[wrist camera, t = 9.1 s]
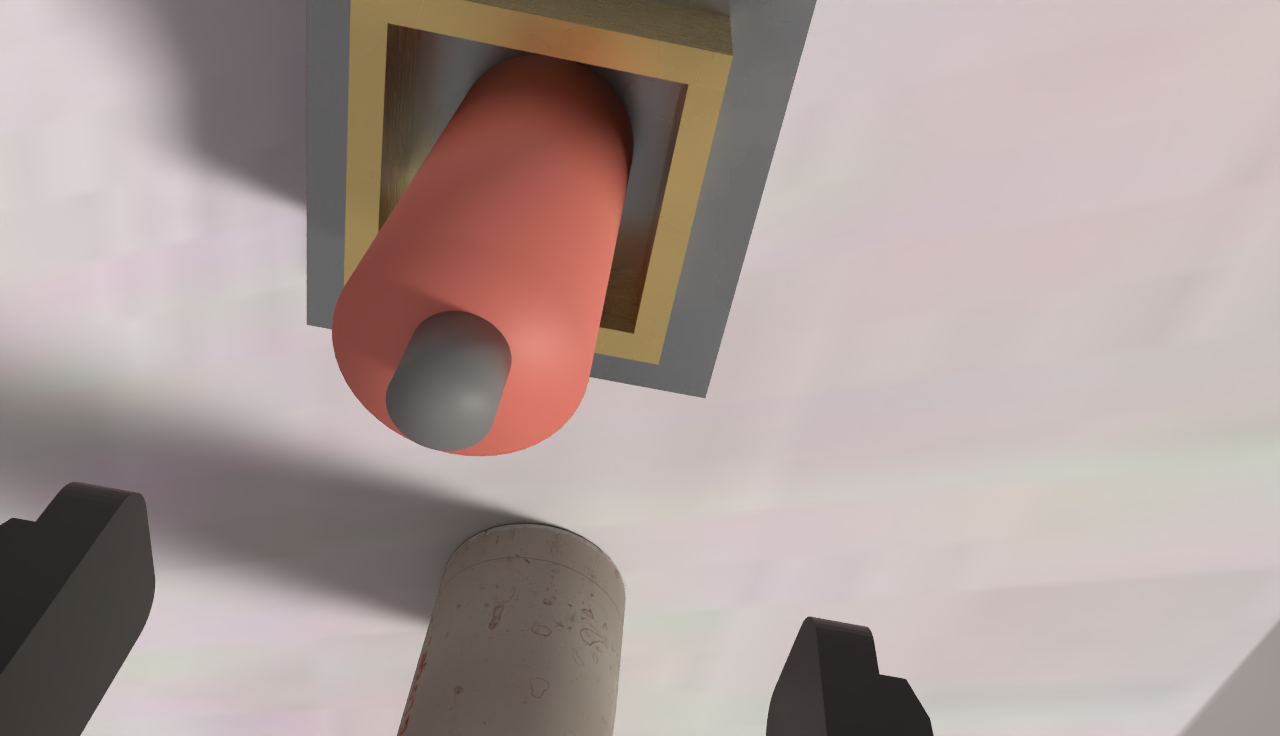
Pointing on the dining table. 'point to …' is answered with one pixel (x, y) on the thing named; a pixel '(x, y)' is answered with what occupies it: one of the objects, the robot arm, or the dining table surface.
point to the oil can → (493, 265)
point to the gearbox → (662, 143)
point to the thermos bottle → (521, 639)
